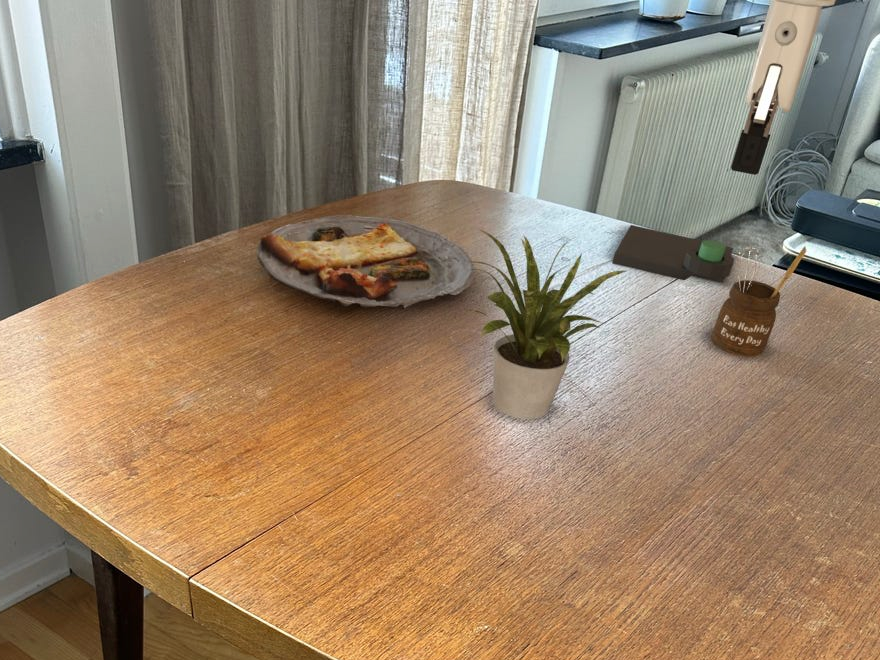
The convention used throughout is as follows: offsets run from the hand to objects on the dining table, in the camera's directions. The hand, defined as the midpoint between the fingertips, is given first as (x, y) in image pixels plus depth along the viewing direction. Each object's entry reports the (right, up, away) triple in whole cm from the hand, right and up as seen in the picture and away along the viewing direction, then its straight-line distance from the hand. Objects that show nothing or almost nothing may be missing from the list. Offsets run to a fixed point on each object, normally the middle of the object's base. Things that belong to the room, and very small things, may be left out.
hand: (744, 170), depth 111 cm
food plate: (-45, -12, +1) cm, 46 cm away
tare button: (-1, -7, +8) cm, 11 cm away
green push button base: (-4, -5, +14) cm, 15 cm away
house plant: (-30, -33, -20) cm, 49 cm away
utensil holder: (-3, -23, -5) cm, 23 cm away
